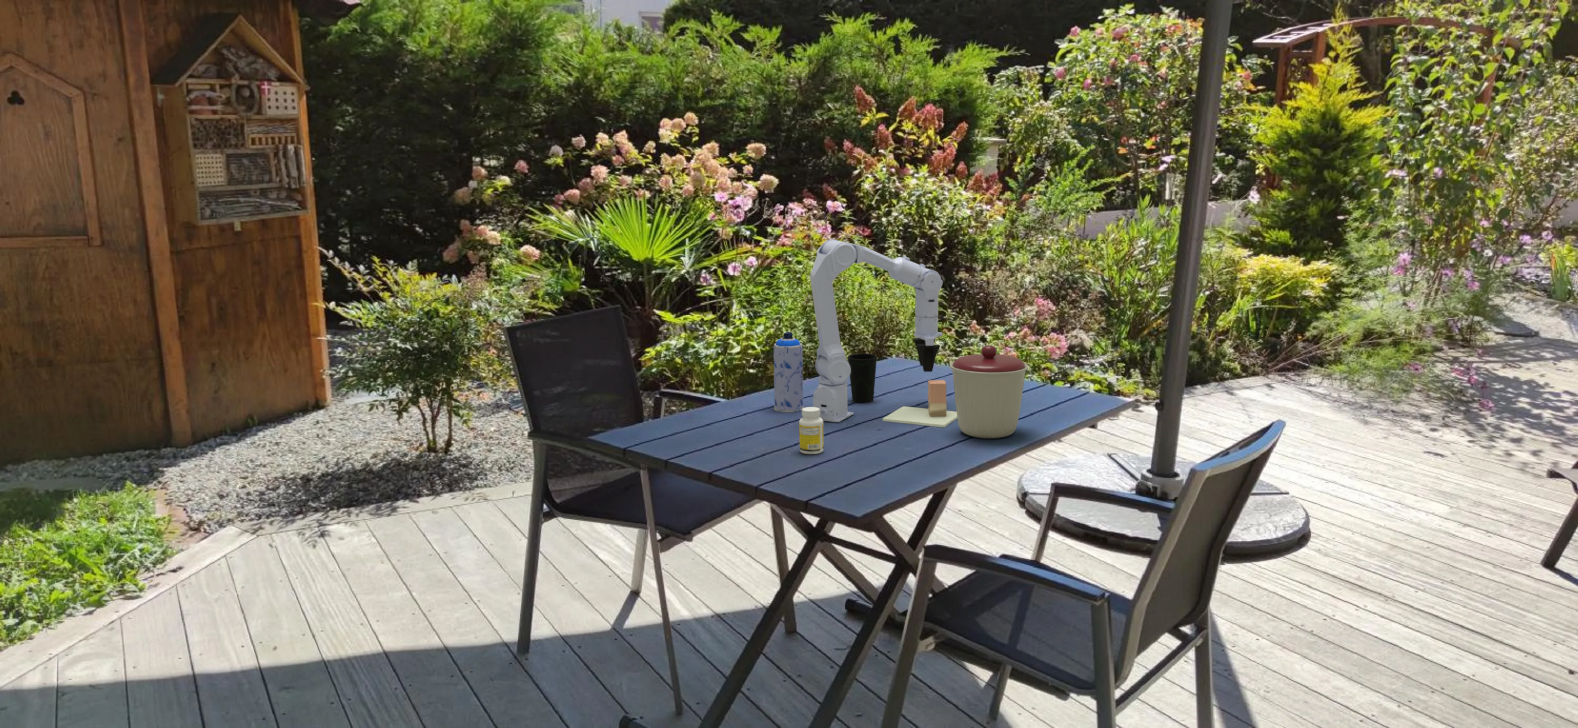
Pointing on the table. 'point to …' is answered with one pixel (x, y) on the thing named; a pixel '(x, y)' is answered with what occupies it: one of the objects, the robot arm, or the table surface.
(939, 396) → the terracotta brick
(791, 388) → the aerosol can
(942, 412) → the beech brick
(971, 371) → the canister
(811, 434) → the supplement bottle
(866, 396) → the cup
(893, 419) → the plate
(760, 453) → the table surface
